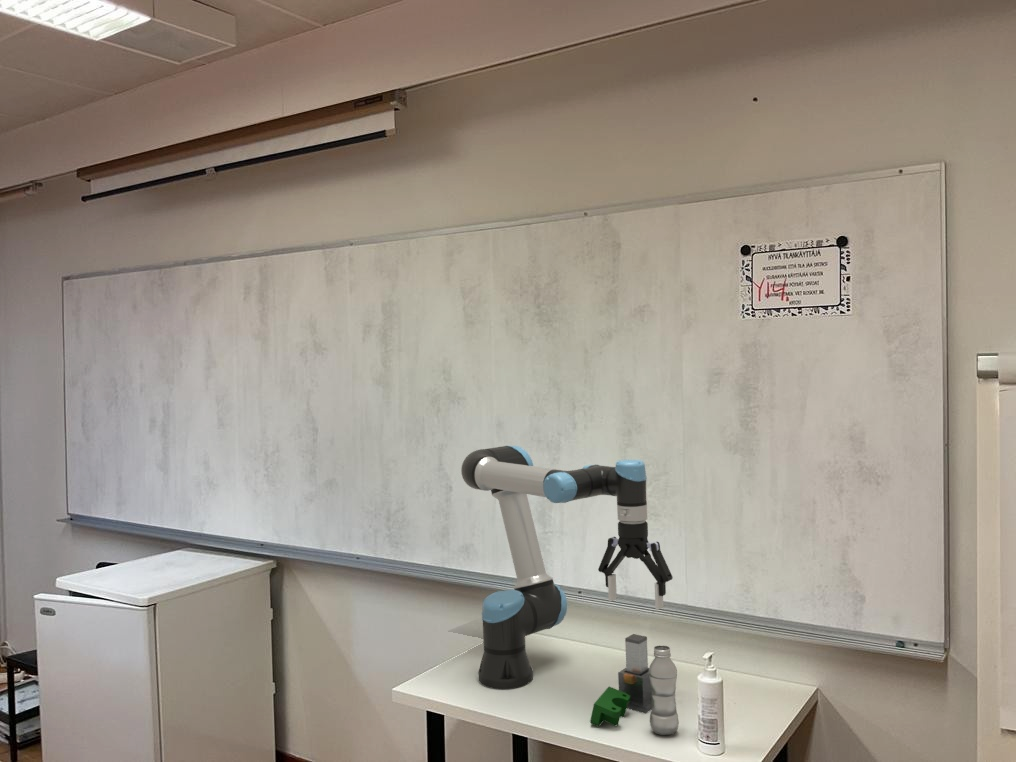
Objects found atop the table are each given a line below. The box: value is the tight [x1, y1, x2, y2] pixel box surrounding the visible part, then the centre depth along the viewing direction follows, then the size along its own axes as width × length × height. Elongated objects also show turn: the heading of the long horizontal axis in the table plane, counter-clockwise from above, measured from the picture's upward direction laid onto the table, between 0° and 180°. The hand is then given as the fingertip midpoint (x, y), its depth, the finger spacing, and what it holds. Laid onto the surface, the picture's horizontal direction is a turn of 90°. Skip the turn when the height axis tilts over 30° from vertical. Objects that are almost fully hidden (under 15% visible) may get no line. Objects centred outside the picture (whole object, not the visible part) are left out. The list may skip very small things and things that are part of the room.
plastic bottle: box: [648, 644, 680, 736], centre depth 193 cm, size 6×7×20 cm
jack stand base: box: [617, 667, 652, 714], centre depth 211 cm, size 10×10×8 cm
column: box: [624, 633, 649, 676], centre depth 211 cm, size 4×4×15 cm
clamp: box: [589, 686, 630, 728], centre depth 201 cm, size 12×6×9 cm, turn 149°
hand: (635, 604), depth 210 cm, fingers open, 13 cm apart
